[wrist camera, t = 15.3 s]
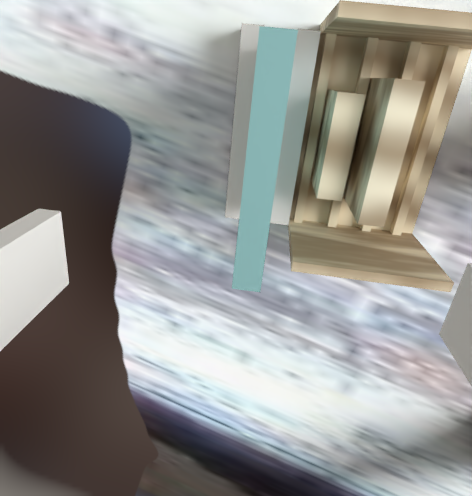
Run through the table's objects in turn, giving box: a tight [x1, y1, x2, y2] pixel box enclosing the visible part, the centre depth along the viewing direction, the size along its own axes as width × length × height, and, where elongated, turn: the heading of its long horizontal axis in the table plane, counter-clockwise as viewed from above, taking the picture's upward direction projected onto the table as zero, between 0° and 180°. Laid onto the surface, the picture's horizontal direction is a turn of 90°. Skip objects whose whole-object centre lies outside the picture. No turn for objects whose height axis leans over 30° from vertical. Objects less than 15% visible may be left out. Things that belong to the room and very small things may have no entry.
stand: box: [225, 23, 321, 225], centre depth 42 cm, size 20×8×4 cm, turn 175°
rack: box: [288, 0, 472, 292], centre depth 37 cm, size 22×15×14 cm
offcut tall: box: [343, 78, 425, 227], centre depth 37 cm, size 13×2×9 cm, turn 175°
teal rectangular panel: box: [232, 26, 298, 292], centre depth 33 cm, size 16×2×22 cm, turn 175°
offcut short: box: [311, 89, 366, 201], centre depth 39 cm, size 10×2×7 cm, turn 175°
